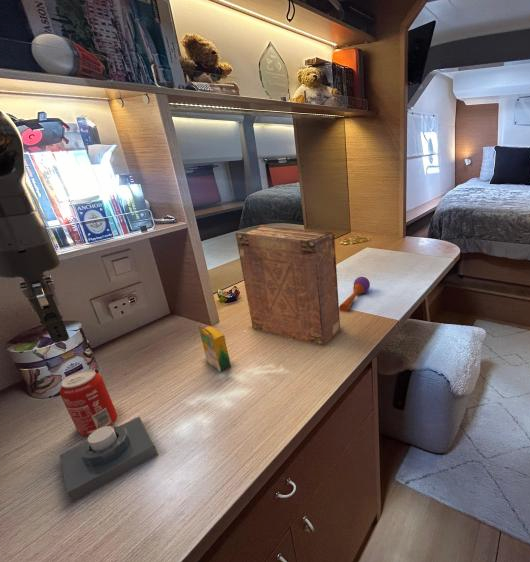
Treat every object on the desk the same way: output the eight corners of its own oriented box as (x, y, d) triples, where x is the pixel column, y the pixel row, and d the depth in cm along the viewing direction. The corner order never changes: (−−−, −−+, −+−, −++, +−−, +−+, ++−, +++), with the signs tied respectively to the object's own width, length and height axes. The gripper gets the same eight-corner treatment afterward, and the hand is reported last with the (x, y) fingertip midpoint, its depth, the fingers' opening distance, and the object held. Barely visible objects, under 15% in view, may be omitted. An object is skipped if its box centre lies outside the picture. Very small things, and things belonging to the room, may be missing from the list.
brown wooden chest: (252, 329, 102) (234, 232, 90) (272, 316, 110) (258, 224, 98) (324, 347, 92) (314, 241, 81) (340, 331, 100) (334, 232, 88)
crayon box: (232, 368, 85) (223, 328, 80) (220, 374, 83) (210, 333, 78) (218, 357, 89) (208, 318, 85) (206, 363, 87) (196, 323, 82)
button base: (74, 505, 53) (62, 483, 51) (65, 467, 60) (54, 446, 58) (159, 457, 61) (151, 436, 59) (143, 427, 68) (136, 408, 66)
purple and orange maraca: (333, 300, 110) (355, 274, 127) (338, 316, 112) (359, 288, 129) (349, 300, 108) (370, 273, 125) (354, 316, 110) (373, 287, 127)
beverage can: (115, 410, 72) (96, 363, 68) (121, 426, 68) (101, 377, 63) (77, 426, 68) (55, 378, 64) (81, 444, 64) (57, 394, 59)
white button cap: (93, 455, 56) (89, 446, 55) (89, 443, 59) (85, 434, 58) (119, 442, 59) (115, 433, 58) (114, 431, 61) (111, 422, 60)
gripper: (-15, 239, 55) (28, 330, 62) (-18, 257, 46) (34, 362, 53) (46, 230, 60) (80, 316, 67) (55, 245, 51) (93, 342, 58)
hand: (59, 335), depth 60 cm, fingers open, 3 cm apart
